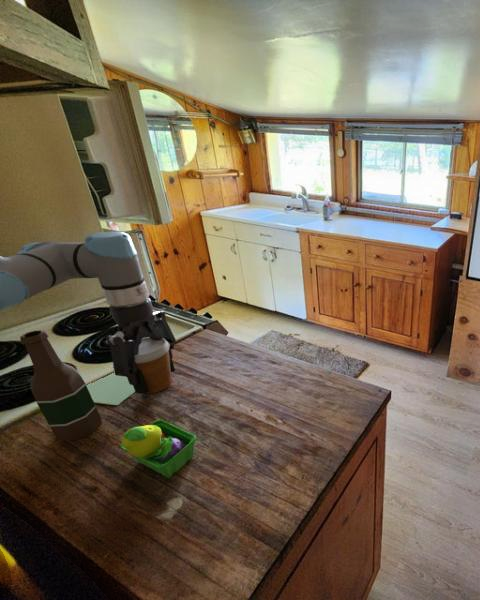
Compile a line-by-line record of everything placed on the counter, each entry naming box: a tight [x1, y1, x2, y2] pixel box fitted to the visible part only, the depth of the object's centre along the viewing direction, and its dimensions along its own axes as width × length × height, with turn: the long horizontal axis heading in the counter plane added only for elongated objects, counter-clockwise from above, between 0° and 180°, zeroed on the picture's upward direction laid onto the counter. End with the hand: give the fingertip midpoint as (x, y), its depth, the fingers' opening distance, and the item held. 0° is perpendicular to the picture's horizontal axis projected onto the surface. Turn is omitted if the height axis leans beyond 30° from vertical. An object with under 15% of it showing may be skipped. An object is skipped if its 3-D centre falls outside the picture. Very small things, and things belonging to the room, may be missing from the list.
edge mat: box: [86, 372, 136, 407], centre depth 84 cm, size 14×14×1 cm
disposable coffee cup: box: [134, 336, 173, 394], centre depth 81 cm, size 10×10×12 cm
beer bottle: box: [19, 329, 103, 442], centre depth 65 cm, size 8×8×24 cm
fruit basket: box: [120, 419, 197, 479], centre depth 62 cm, size 11×9×11 cm
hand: (156, 381), depth 83 cm, fingers closed on disposable coffee cup, 8 cm apart
